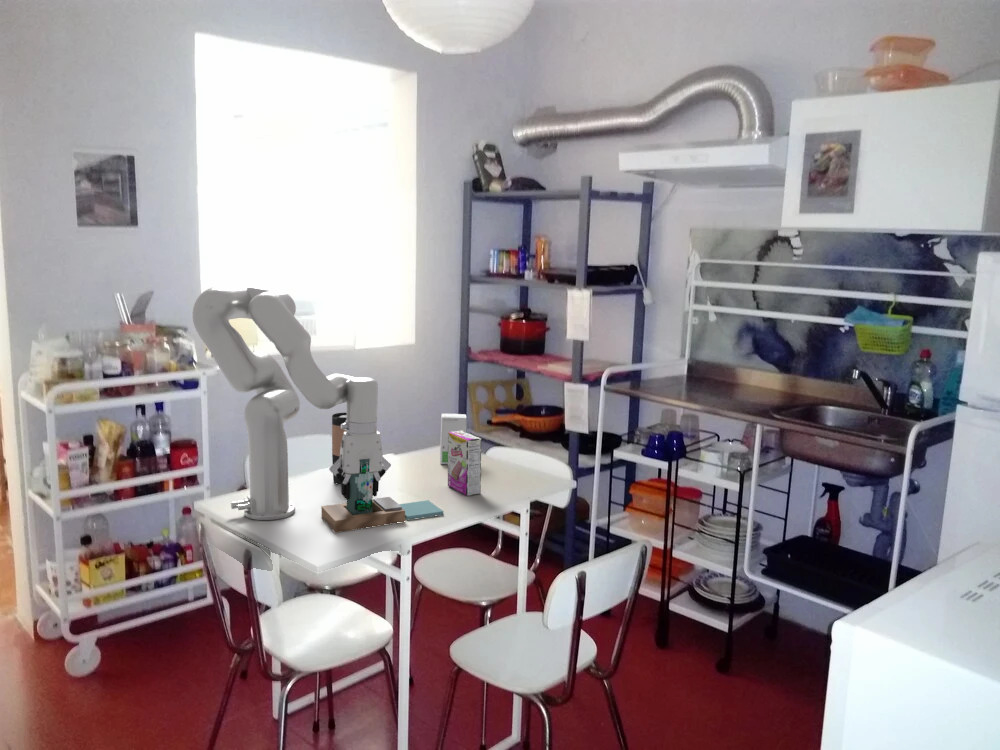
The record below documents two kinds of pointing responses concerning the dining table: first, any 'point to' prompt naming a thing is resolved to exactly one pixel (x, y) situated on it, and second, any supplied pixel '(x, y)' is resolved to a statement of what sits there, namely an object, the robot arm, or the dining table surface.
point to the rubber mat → (420, 509)
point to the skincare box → (448, 425)
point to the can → (361, 490)
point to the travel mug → (337, 439)
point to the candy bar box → (464, 462)
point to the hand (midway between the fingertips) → (359, 495)
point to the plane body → (363, 515)
